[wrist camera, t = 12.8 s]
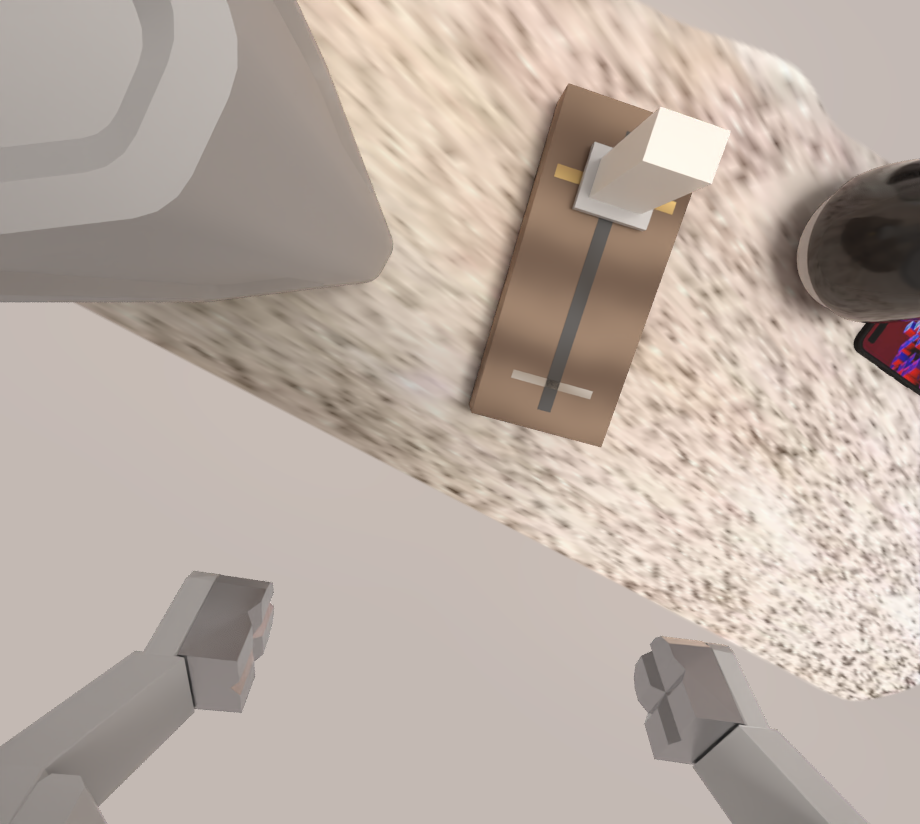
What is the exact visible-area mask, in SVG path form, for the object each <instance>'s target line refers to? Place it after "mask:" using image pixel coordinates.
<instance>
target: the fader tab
mask: <svg viewBox="0 0 920 824" xmlns="http://www.w3.org/2000/svg"><path fill="white" fill-rule="evenodd" d="M730 132H731V131H729V130H726V129H723V128H721V127H718V126H715V125H712V124H709V123H706V122H703V121H701V120H698V119H695V118H692V117H689V116H686V115H683V114H681V113H678V112H675V111H672V110H669V109H666V108H663V107H659V108H658V109H657V110H656V111H655V112H654V113H653V114H651V115H650V116H649V117H648V118H647V119H646V120H645V121H643V122H642V123H641V124H640V125H639V126H638V127H637V128H635V129H634V130H633V131H632V132H631V133H630V134H629V135H627V136H626V137H625V138H624V139H623V140H622V141H621V142H619V143H618V144H617V145H616V146H615V147H614V148H612V147H609V146H606V145H603V144H600V143H597V142H594V143H593V144H592V146H591V150H590V153H589V156H588V159H587V162H586V166H585V169H584V172H583V175H582V178H581V182H580V185H579V188H578V191H577V195H576V198H575V201H574V204H573V207H572V209H574V210H577V211H580V212H583V213H586V214H589V215H592V216H596V217H599V218H602V219H605V220H608V221H611V222H614V223H618V224H621V225H624V226H627V227H630V228H633V229H636V230H639V231H645V230H646V229H647V226H648V224H649V221H650V218H651V215H652V212H653V209H654V208H657V207H659V206H661V205H664V204H666V203H668V202H671V201H673V200H675V199H678V198H680V197H682V196H685V195H687V194H689V193H692V192H694V191H696V190H699V189H701V188H703V187H706V186H708V185H710V184H712V182H713V179H714V176H715V173H716V171H717V168H718V165H719V162H720V160H721V157H722V154H723V151H724V149H725V146H726V143H727V140H728V138H729V135H730Z"/></svg>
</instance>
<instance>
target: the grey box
mask: <svg viewBox="0 0 920 824" xmlns="http://www.w3.org/2000/svg"><path fill="white" fill-rule="evenodd" d="M392 250H393V241H392V236H391V234H390V231H389V229H388V226H387V223H386V221H385V218H384V215H383V213H382V210H381V207H380V205H379V202H378V200H377V197H376V194H375V192H374V189H373V186H372V184H371V181H370V178H369V176H368V173H367V171H366V168H365V165H364V163H363V160H362V157H361V155H360V152H359V149H358V147H357V144H356V142H355V139H354V136H353V134H352V131H351V128H350V126H349V123H348V121H347V118H346V115H345V113H344V110H343V107H342V105H341V102H340V99H339V97H338V94H337V92H336V89H335V86H334V84H333V81H332V78H331V76H330V73H329V70H328V68H327V65H326V63H325V60H324V58H323V56H322V54H321V52H320V50H319V47H318V45H317V43H316V41H315V39H314V37H313V35H312V33H311V30H310V28H309V26H308V24H307V22H306V20H305V18H304V15H303V13H302V11H301V9H300V7H299V5H298V3H297V0H0V302H210V301H218V300H226V299H234V298H243V297H251V296H259V295H267V294H275V293H284V292H292V291H300V290H308V289H316V288H324V287H333V286H341V285H349V284H357V283H365V282H369V281H372V280H374V279H375V278H377V277H378V276H379V274H380V273H381V271H382V270H383V268H384V266H385V264H386V262H387V261H388V259H389V257H390V255H391V253H392Z"/></svg>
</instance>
